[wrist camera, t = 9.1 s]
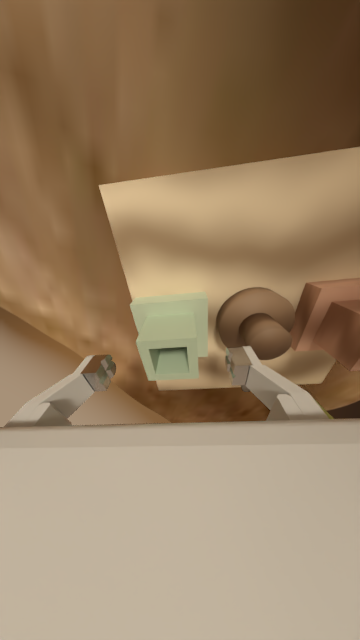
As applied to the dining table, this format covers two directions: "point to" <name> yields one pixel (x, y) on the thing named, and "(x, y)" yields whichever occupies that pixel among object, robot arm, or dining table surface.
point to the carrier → (252, 258)
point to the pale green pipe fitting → (171, 334)
